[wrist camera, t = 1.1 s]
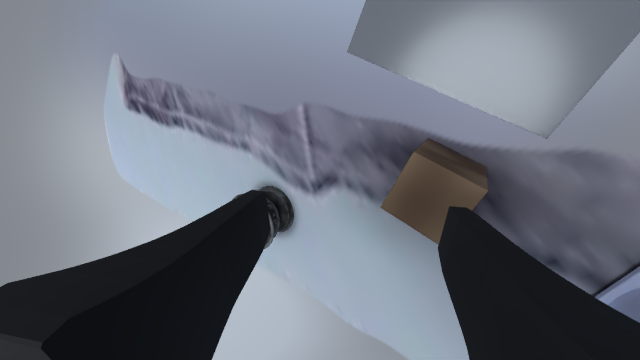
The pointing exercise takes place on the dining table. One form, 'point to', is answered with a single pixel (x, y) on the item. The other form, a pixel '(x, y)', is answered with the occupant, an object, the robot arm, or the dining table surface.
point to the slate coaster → (500, 50)
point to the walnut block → (435, 188)
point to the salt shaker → (277, 211)
